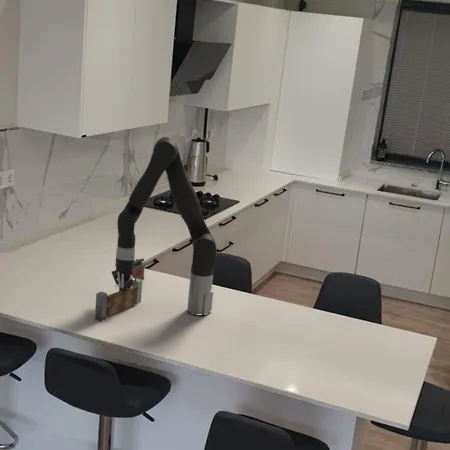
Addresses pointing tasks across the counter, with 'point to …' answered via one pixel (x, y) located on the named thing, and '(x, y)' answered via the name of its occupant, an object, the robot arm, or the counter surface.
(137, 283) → the latch post
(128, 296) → the gate
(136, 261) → the lighter
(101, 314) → the hinge post
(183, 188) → the robot arm
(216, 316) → the counter surface
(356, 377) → the counter surface
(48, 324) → the counter surface
